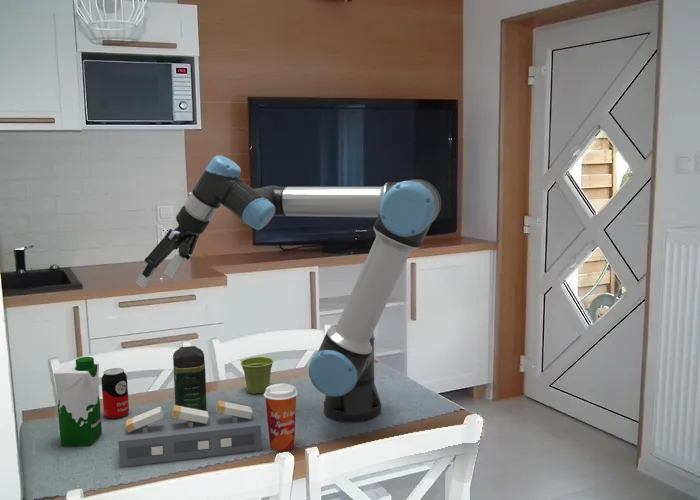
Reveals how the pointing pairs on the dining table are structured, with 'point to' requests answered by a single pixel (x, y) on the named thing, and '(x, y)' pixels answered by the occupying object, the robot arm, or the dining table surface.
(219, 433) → the console
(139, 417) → the rocker
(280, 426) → the paper cup
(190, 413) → the rocker
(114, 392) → the beverage can
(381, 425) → the dining table surface
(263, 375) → the plant pot
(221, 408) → the rocker
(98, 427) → the milk carton
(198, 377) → the coffee jar
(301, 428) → the dining table surface
